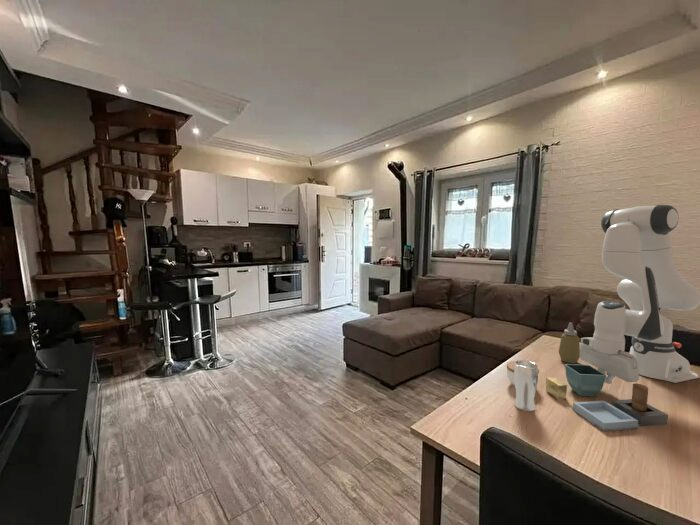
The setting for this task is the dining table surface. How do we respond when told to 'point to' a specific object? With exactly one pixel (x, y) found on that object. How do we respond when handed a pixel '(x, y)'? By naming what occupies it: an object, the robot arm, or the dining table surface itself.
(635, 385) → the dowel
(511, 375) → the lidded jar
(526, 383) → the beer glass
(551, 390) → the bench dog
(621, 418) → the tray
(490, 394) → the dining table surface
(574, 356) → the squeeze bottle
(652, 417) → the socket block
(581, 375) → the flower pot
